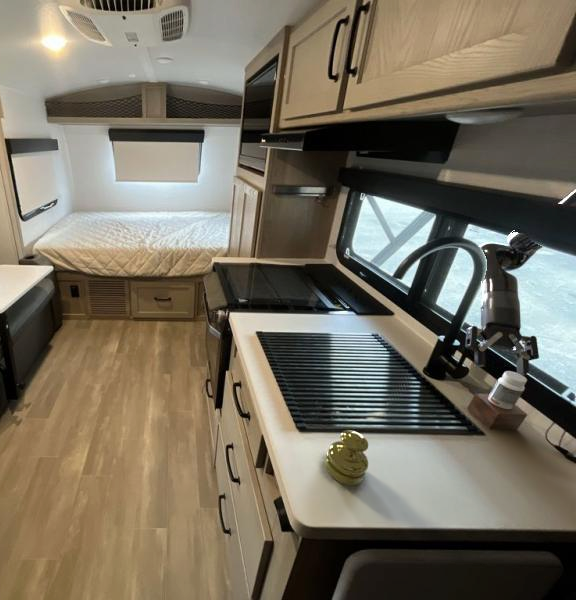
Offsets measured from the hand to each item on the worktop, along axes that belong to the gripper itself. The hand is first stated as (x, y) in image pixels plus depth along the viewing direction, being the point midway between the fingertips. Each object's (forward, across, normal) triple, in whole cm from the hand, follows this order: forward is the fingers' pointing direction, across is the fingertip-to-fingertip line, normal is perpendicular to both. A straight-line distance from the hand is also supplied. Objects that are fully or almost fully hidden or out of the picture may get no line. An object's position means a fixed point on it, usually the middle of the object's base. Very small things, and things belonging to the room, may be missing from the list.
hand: (501, 370), depth 84 cm
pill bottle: (+8, 0, +1) cm, 8 cm away
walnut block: (+12, 0, +4) cm, 12 cm away
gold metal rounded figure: (+33, -38, -17) cm, 53 cm away
